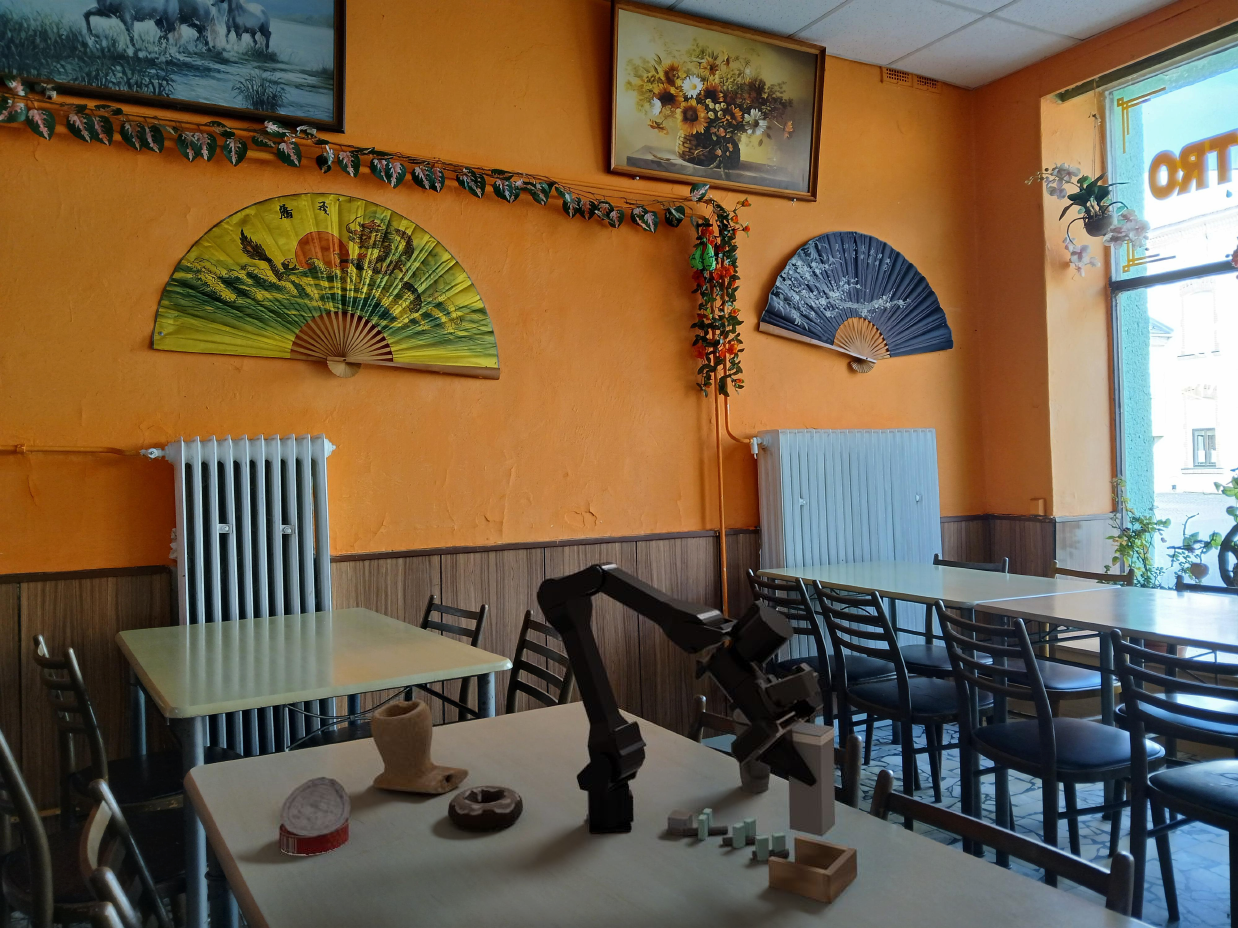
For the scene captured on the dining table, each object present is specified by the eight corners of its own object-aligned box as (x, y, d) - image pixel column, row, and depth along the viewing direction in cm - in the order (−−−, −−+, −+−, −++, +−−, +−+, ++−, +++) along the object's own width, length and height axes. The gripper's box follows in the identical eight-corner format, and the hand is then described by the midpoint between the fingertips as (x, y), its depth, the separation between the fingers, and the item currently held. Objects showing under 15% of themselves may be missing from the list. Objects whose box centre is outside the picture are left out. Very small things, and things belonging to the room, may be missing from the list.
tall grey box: (788, 828, 117) (787, 730, 117) (802, 816, 121) (801, 721, 121) (822, 836, 115) (821, 735, 115) (836, 824, 118) (834, 726, 118)
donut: (536, 812, 143) (536, 787, 143) (496, 840, 132) (496, 813, 132) (476, 801, 148) (475, 777, 148) (432, 828, 137) (432, 802, 137)
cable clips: (770, 864, 122) (770, 842, 122) (689, 835, 132) (689, 815, 132) (793, 851, 126) (792, 830, 126) (712, 824, 136) (712, 804, 136)
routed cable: (694, 863, 123) (694, 856, 123) (682, 833, 133) (682, 826, 133) (789, 857, 124) (789, 850, 124) (770, 828, 134) (770, 821, 134)
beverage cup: (776, 796, 147) (773, 675, 147) (731, 794, 148) (729, 674, 149) (777, 780, 154) (775, 665, 154) (735, 778, 156) (732, 664, 156)
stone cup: (356, 795, 151) (354, 707, 151) (400, 772, 162) (398, 690, 162) (430, 807, 145) (428, 715, 145) (470, 783, 156) (469, 697, 156)
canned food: (348, 863, 136) (377, 806, 135) (305, 885, 126) (335, 825, 126) (297, 819, 140) (324, 764, 139) (250, 838, 130) (280, 779, 130)
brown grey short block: (667, 832, 133) (667, 816, 133) (673, 825, 136) (673, 809, 136) (687, 835, 132) (686, 819, 132) (692, 827, 135) (692, 811, 135)
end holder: (769, 885, 116) (768, 858, 116) (797, 859, 123) (797, 834, 123) (831, 903, 111) (830, 875, 111) (857, 875, 118) (856, 849, 118)
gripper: (751, 660, 112) (836, 763, 106) (808, 635, 128) (886, 724, 122) (697, 713, 117) (776, 815, 111) (759, 683, 132) (831, 771, 126)
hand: (821, 778), depth 117 cm, fingers closed on tall grey box, 4 cm apart
